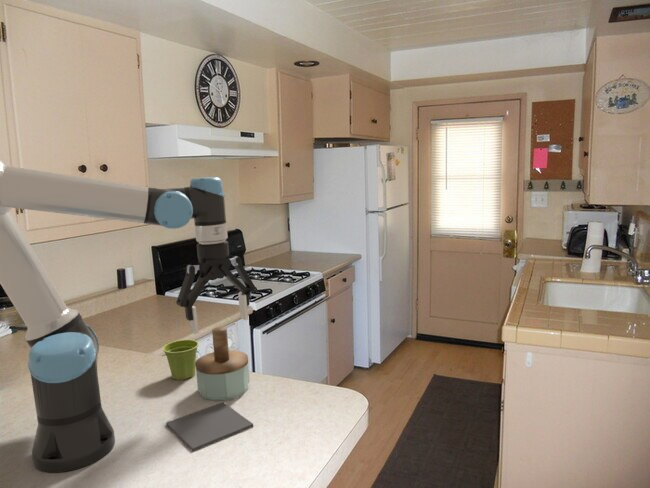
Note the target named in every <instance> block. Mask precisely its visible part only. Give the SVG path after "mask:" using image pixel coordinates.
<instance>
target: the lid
mask: <svg viewBox="0 0 650 488" xmlns="http://www.w3.org/2000/svg"><path fill="white" fill-rule="evenodd" d="M211 330H212V331H211V332H212V334H211V335H212V343H213V345H212V347H213V351H212V352H210V353H206V354H204V355H202V356H201V357H199V358H197V359H196V363H195V364H196V367H195V370H196V369H197V371H199V372H201V373H204V374H225V373H230V372H234V371H237V370H239V369H241V368H243V367H245V366H246V365H247V364H248V365H249V356H248V354H247V353H245V352H243V351H240V350H232V349H231V350H230V349H229V340H228V329H227V327H225V326H219V327H214V328H213V329H211Z"/></svg>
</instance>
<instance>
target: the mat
mask: <svg viewBox="0 0 650 488" xmlns="http://www.w3.org/2000/svg"><path fill="white" fill-rule="evenodd" d="M165 425H166V427H168V428H169V430H170V431H172V432H173V433H174V434H175V435H176V436H177V437H178V438H179V439H180V440H181V442H183V443H184V445H186V446H187V447H188V448H189V449H190V450H191V451H192V452H195V451H197V450H199V449H202V448H204V447H207V446H210V445H212V444H215V443H216V442H219V441H221V440H224V439H225V438H229V437H231V436H234V435H236V434H239V433H241V432H243V431H247V430H248V429H251V428H253V427H254V423H253V422H251V421H250V420H248V419H247V418H246V417H244V416H243V415H241V414H240V413H239V412H238V411H236V410H235V409H234V408H233V407H231V406H229V405H228V404H226V403H225V402H223V401H221V402H219V403H217V404H213V405H211V406H208V407H206V408H205V407H204V408H203V409H201V410H198V411H193V412H192V413H189V414H186V415H183V416H180V417H178V418H176V419H173V420H169V421H167V422H165Z"/></svg>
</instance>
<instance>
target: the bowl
mask: <svg viewBox="0 0 650 488" xmlns="http://www.w3.org/2000/svg"><path fill="white" fill-rule="evenodd" d="M195 375H196V382H197V391H198V392H199V394H200V396H201V397H202V398H203V399H204V400H208V401H211V402H212V401H213V402H215V401H216V402H218V401H219V402H220V401H221V402H223V401H228V400H229V401H230V400H232V399H235V398H236V399H237V398H239V397H240V396H243V395H244V394H245V393H247V392H248V389H249V384H250V370H249V363H248V364H247V365H246V366H245V367H243V368H241V369H239V370H237V371H234V372H230V373H225V374H204V373H201V372H199V371H197V369H196V368H195Z"/></svg>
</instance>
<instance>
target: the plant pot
mask: <svg viewBox="0 0 650 488" xmlns="http://www.w3.org/2000/svg"><path fill="white" fill-rule="evenodd" d="M199 344H200V343H199V342H198V341H197V340H194V339H180V340H179V339H178V340H175V341H172V342H171V341H170V342H169V343H167V344H165V345H164V346H162V351H163V352H164V355H165V356H166V359H167V363H168V366H169V370H170V373H171V378H173V379H174V380H178V381H184V380H187V379H189V378H193V377H194V376H195V375H196V364H195V363H196V361H197V351H198V347H199Z"/></svg>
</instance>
